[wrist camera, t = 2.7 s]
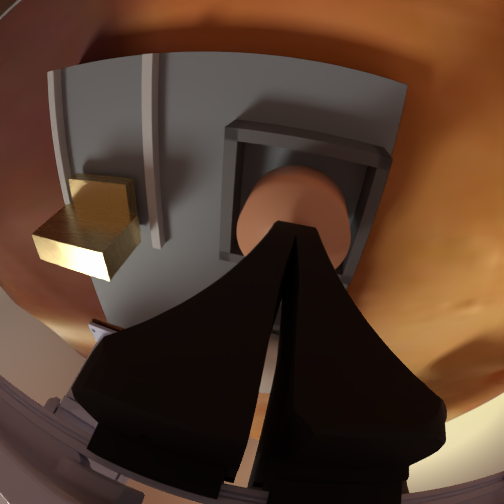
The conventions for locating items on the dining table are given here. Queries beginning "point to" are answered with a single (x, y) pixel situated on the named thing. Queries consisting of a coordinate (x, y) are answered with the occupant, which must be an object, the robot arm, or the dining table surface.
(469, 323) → the dining table surface
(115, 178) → the tall mustard sponge block
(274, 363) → the cream button
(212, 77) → the control panel
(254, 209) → the terracotta button
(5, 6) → the food container
